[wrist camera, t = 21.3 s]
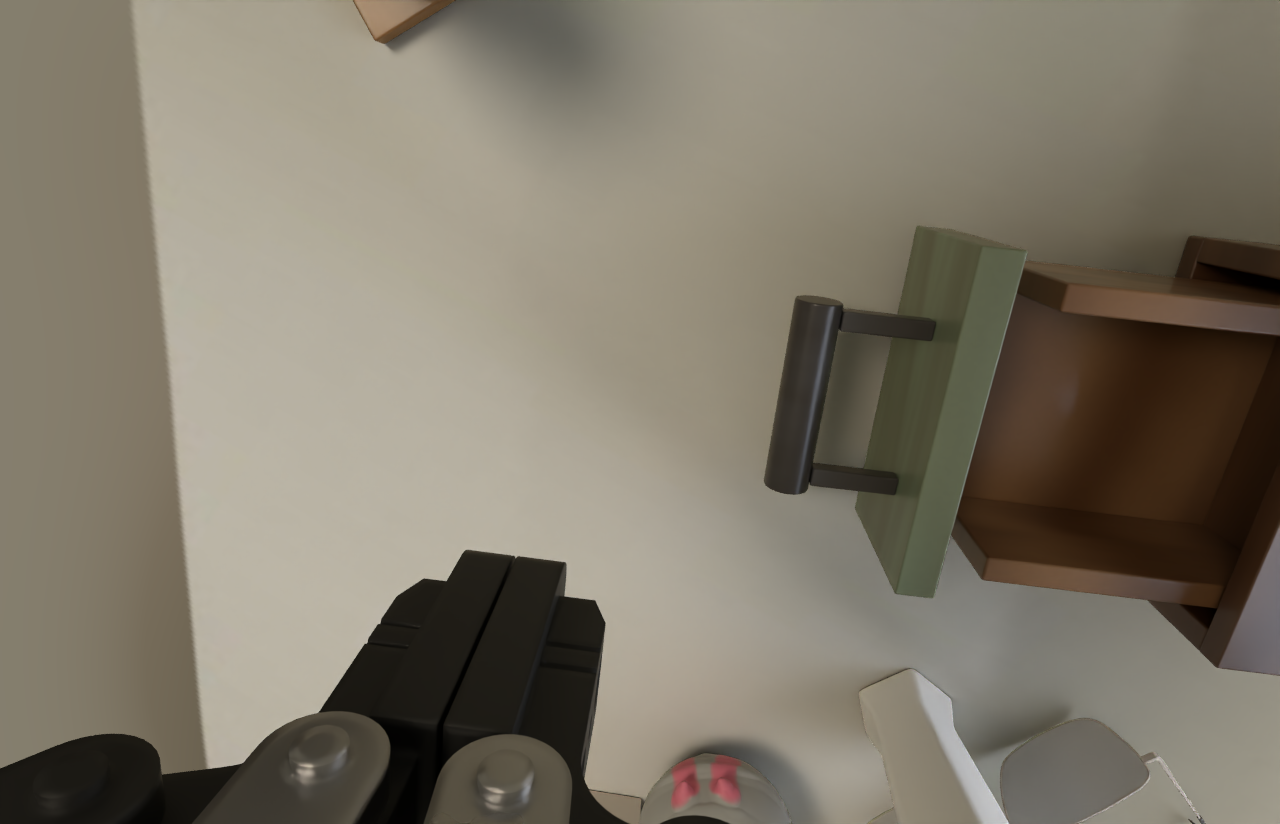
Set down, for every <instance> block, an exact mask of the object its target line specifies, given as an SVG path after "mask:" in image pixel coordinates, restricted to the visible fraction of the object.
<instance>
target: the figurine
mask: <svg viewBox="0 0 1280 824" xmlns="http://www.w3.org/2000/svg"><path fill="white" fill-rule="evenodd" d="M688 815H699V816H708V817H712V818H716V819H720V820H722V821H725V822H728V823H730V824H792V822H791V818H790V815H789V813H788V810H787V808H786V806H785V804H784V802H783V800H782V799H781V797H780V796H779V794H778V792H777V791H776V789H775V788H774V787H773V785H772V784H771V783H770V782H769V781H768V780H767V779H766V778H765V777H764V776H763V775H762V774H761V773H760V772H759V771H758V770H757V769H755V768H754V767H753V766H751V765H749V764H748V763H746V762H744V761H742V760H739V759H736V758H733V757H729V756H725V755H715V754H709V753H705V754H701V755H698V756H695V757H691V758H688V759H686V760H684V761H682V762H680V763H678V764H676V765H675V766H673V767H672V768H671V769H669V770H668V771H667V772H666V773H665V774H664V775H663V776H662V777H661V778H660V780H659V781H658V782H657V783H656V784H655V785H654V786H653V787H652V789H651V791H650V792H649V794H648V796H647V798H646V800H645V803H644V805H643V808H642V811H641V815H640V820H639V824H660V823H662V822H664V821H667V820H669V819H671V818H675V817H680V816H688Z"/></svg>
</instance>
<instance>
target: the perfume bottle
mask: <svg viewBox="0 0 1280 824" xmlns="http://www.w3.org/2000/svg"><path fill="white" fill-rule="evenodd" d="M859 700H860V705H861V710H862V716H863V721H864V726H865V731H866V734H867V736H868V738H869V739H870V740H871V742H872V743H873V745H874V746H875V747H876V749H877V750H878V752H879V753H880V754H881V756H882V759H883V764H884V768H885V772H886V776H887V780H888V784H889V788H890V793H891V797H892V801H893V805H894V809H895V813H896V818H897V822H898V824H1009V822H1008V821H1007V819H1006V817H1005V815H1004V814H1003V812H1002V810H1001V809H1000V807H999V805H998V803H997V802H996V800H995V798H994V796H993V795H992V793H991V791H990V789H989V788H988V786H987V784H986V783H985V781H984V779H983V777H982V776H981V774H980V772H979V770H978V769H977V767H976V765H975V763H974V762H973V760H972V758H971V757H970V755H969V753H968V751H967V750H966V748H965V746H964V744H963V743H962V741H961V739H960V737H959V736H958V734H957V732H956V731H955V729H954V724H953V713H952V702H951V699H950V698H949V697H948V696H947V695H946V694H945V693H943V692H942V691H941V690H940V689H938V688H937V687H936V686H935V685H933V684H932V683H931V682H930V681H928V680H927V679H926V678H925V677H923V676H922V675H921V674H920V673H919V672H917V671H916V670H914V669H908V670H905V671H903V672H900V673H898V674H896V675H893V676H891V677H889V678H887V679H884V680H882V681H880V682H878V683H875V684H873V685H871V686H869V687H866V688H864V689H862V690H861V691H860V692H859Z"/></svg>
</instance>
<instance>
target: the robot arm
mask: <svg viewBox="0 0 1280 824" xmlns="http://www.w3.org/2000/svg"><path fill="white" fill-rule="evenodd" d="M565 583H566V562H559V561H551V560H543V559H535V558H528V557H520V556H518V557H517V558H515V556H511V555H503V554H495V553H487V552H480V551H472V550H465V551H464V552H463V554H462V555H461V557H460V559H459V561H458V562H457V564H456V566H455V568H454V569H453V571H452V573H451V575H450V576H449V578H448V580H447V581H439V580H432V579H423V580H421V581H419V582H418V583H416V584H415V585H413V586H412V587H410V588H409V589H407V590H406V591H404V592H403V593H401V594H400V595H398V596H397V597H396V598H395V600H394V601H393V603H392V604H391V606H390V607H389V609H388V610H387V612H386V613H385V615H384V616H383V618H382V619H381V624H378V625H377V627H376V628H375V630H374V631H373V632H372V634H371V635H370V637H369V638H368V643H367V644H364V646H363V647H362V649H361V650H360V652H359V653H358V655H357V656H356V658H355V659H354V661H353V662H352V664H351V665H350V667H349V668H348V670H347V671H346V673H345V674H344V676H343V677H342V679H341V680H340V682H339V683H338V685H337V686H336V688H335V689H334V691H333V692H332V694H331V695H330V697H329V698H328V700H327V701H326V702H325V704H324V705H323V707H322V708H321V710H320V711H319V713H316V714H312V715H308V716H305V717H302V718H299V719H296V720H294V721H292V722H290V723H287V724H285V725H284V726H282V727H280V728H279V729H277V730H275V731H274V732H273V733H271V734H270V735H269V736H268V737H266V738H265V739H264V740H263V741H262V742H261V743H260V744H259V745H258V746H257V747H256V749H255V750H254V751H253V752H252V753H251V755H250V756H249V757H248V758H247V759H246V760H245V762H244V763H242V764H238V765H233V766H227V767H221V768H213V769H205V770H197V771H190V772H189V771H188V772H180V773H172V774H164V775H162V772H161V765H160V757H159V755H158V753H157V750H156V749H155V748H154V747H153V746H152V745H151V744H150V743H148V742H147V741H145V740H144V739H140V738H138V737H135V736H131V735H125V734H101V735H94V736H88V737H83V738H79V739H76V740H72V741H68V742H66V743H63V744H60V745H57V746H55V747H52V748H50V749H47V750H45V751H42V752H40V753H37V754H35V755H32V756H30V757H28V758H25V759H23V760H20V761H18V762H15V763H13V764H10V765H8V766H6V767H3V768H1V769H0V824H629V823H627V822H625V821H623V820H621V819H620V818H618V817H616V816H614V815H613V814H612V813H610V812H609V811H607V810H606V809H605V808H604V807H603V806H602V805H601V804H600V803H599V802H598V801H597V800H596V799H595V798H594V796H593V795H592V794H591V792H590V791H589V789H588V787H587V785H586V783H585V780H584V777H585V771H586V765H587V759H588V754H589V748H590V742H591V736H592V730H593V724H594V718H595V712H596V705H597V696H598V687H599V678H600V669H601V660H602V651H603V642H604V633H605V621H604V619H603V617H602V615H601V612H600V610H599V608H598V606H597V604H596V601H595V600H587V599H579V598H572V597H564V595H565ZM660 824H730V823H728V822H725V821H722V820H720V819H716V818H712V817H708V816H699V815H688V816H680V817H675V818H671V819H669V820H667V821H664V822H662V823H660Z"/></svg>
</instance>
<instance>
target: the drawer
mask: <svg viewBox="0 0 1280 824" xmlns="http://www.w3.org/2000/svg"><path fill="white" fill-rule="evenodd" d="M1026 256H1027V251H1026V250H1024V249H1020V248H1017V247H1013V246H1010V245H1006V244H1002V243H999V242H995V241H992V240H988V239H985V238H981V237H977V236H974V235H970V234H967V233H963V232H960V231H956V230H952V229H945V228H936V227H926V226H917V228H916V232H915V237H914V241H913V246H912V250H911V255H910V259H909V264H908V268H907V273H906V278H905V282H904V287H903V291H902V296H901V300H900V305H899V309H898V314H889V313H880V312H871V311H863V310H854V309H845V308H843V303H842V302H840V301H837V300H834V299H830V298H825V297H819V296H806V295H803V296H797V297H796V298H795V302H794V308H793V314H792V320H791V325H790V331H789V337H788V343H787V349H786V354H785V360H784V366H783V372H782V378H781V383H780V389H779V395H778V401H777V407H776V412H775V418H774V424H773V430H772V436H771V441H770V447H769V453H768V459H767V465H766V470H765V476H764V483H765V485H766V486H767V487H768V488H770V489H772V490H774V491H777V492H780V493H784V494H793V495H795V494H802V493H805V492H806V491H807V489H808V485H809V483H810V485H812V486H819V487H828V488H836V489H844V490H853V491H858V496H857V501H856V505H855V510H856V512H857V514H858V516H859V518H860V520H861V522H862V525H863V527H864V529H865V531H866V533H867V535H868V537H869V539H870V541H871V544H872V546H873V548H874V550H875V552H876V554H877V556H878V558H879V561H880V563H881V565H882V567H883V569H884V571H885V573H886V575H887V577H888V580H889V582H890V584H891V586H892V588H893V590H894V592H895V593H896V594H901V595H909V596H917V597H925V598H934V596H935V592H936V589H937V585H938V581H939V578H940V574H941V570H942V566H943V563H944V559H945V555H946V552H947V548H948V544H949V541H950V537H951V536H952V537H953V539H954V540H955V542H956V543H957V544H958V546H959V547H960V549H961V550H962V552H963V553H964V555H965V556H966V557H967V559H968V560H969V562H970V563H971V565H972V566H973V568H974V569H975V570H976V572H977V573H978V575H979V576H980V578H981V579H983V580H986V581H995V582H1003V583H1011V584H1019V585H1028V586H1036V587H1044V588H1052V589H1061V590H1069V591H1077V592H1085V593H1094V594H1102V595H1110V596H1118V597H1127V598H1135V599H1143V600H1151V601H1159V602H1168V603H1176V604H1184V605H1192V606H1201V607H1209V608H1218V606H1219V603H1220V601H1221V599H1222V596H1223V594H1224V591H1225V589H1226V587H1227V584H1228V582H1229V580H1230V577H1231V575H1232V572H1233V570H1234V568H1235V565H1236V563H1237V560H1238V558H1239V556H1240V553H1241V551H1242V549H1243V546H1244V544H1245V541H1246V539H1247V537H1248V534H1249V532H1250V529H1251V527H1252V525H1253V522H1254V520H1255V518H1256V515H1257V513H1258V510H1259V508H1260V506H1261V503H1262V501H1263V498H1264V496H1265V494H1266V491H1267V489H1268V487H1269V484H1270V482H1271V479H1272V477H1273V475H1274V472H1275V470H1276V467H1277V465H1278V463H1279V460H1280V289H1279V288H1270V287H1261V286H1252V285H1243V284H1234V283H1225V282H1216V281H1207V280H1198V279H1189V278H1180V277H1171V276H1162V275H1153V274H1144V273H1135V272H1126V271H1117V270H1108V269H1099V268H1090V267H1081V266H1072V265H1063V264H1054V263H1045V262H1036V261H1027V260H1026ZM839 329H840V331H843V332H852V333H860V334H869V335H878V336H887V337H892V341H891V346H890V350H889V355H888V359H887V364H886V369H885V373H884V378H883V382H882V387H881V391H880V396H879V400H878V405H877V410H876V414H875V419H874V423H873V428H872V432H871V437H870V441H869V446H868V450H867V455H866V460H865V464H864V469H862V468H854V467H846V466H837V465H829V464H820V463H813V459H814V454H815V449H816V444H817V439H818V433H819V428H820V423H821V418H822V413H823V408H824V403H825V397H826V392H827V387H828V382H829V377H830V372H831V367H832V362H833V356H834V351H835V346H836V341H837V336H838V331H839Z"/></svg>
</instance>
